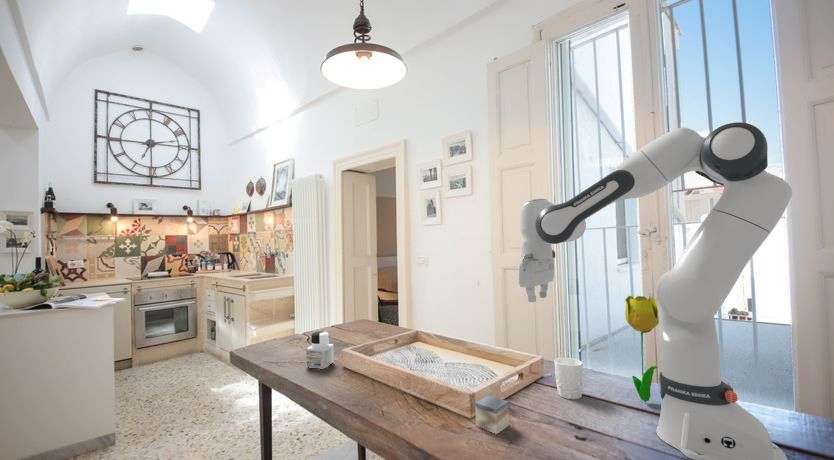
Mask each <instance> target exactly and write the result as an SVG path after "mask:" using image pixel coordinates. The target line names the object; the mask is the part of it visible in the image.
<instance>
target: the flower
mask: <svg viewBox="0 0 834 460" xmlns="http://www.w3.org/2000/svg"><path fill="white" fill-rule="evenodd" d="M624 302H625V309H624V310H625V311H624V313H625V315H624V316H625V320H626V323H627V324H628V325H629V326H630V327H631V328H633V329H634V330H635V331H636V332H640V343H641V344H640V348H641V353H640V354H641V376H642V377H641V379H640V378H638V377H637V376H635V375H632V376H631V378H632V380H633V384H634V387H635V389H636V392H637V393H638V395H639V396H638V397H640V400H642V401H644V402H646V403H647V402H649V401H650V399H651V389H652V384H653V383H652V381H653V376H654V371H655V370H656V369H658V366H656V365H654V366H651V367H649V368H648V369H647V370H645V372H644V351H643V350H644V346H643V344H644V334H646V333H650V332H651V331H652V330H653V329H654V328H655V327H657V326H659V317H658V303H657V300H656V299H655V298H654V297H649V298H647V297H645V296H644V295H643V296H641V295H637V296H636V297H634V296H633V295H628V296H627V297H626V298H625V301H624Z"/></svg>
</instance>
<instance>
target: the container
mask: <svg viewBox="0 0 834 460" xmlns="http://www.w3.org/2000/svg"><path fill="white" fill-rule="evenodd" d="M329 336H330V335H329V332H327V331H324V330H323V331H316V332H313V333H311V345H310V346H308V347H307V348H305V349H306V350H305V351H306V358H305V359H306V368H307V367H309V368H325V367H327V366H328V365H330V364H331V363H332V362H334V363H335V353H334V352H335V349H334V343H330V339H329ZM309 368H308V369H309ZM327 368H328V367H327Z"/></svg>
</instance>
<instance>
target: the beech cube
mask: <svg viewBox="0 0 834 460" xmlns="http://www.w3.org/2000/svg"><path fill="white" fill-rule="evenodd" d="M474 406H475V408H474V409H475V426H476V425H477V426H478V427H477V428H479V427H481V428H483V429H482V430H484V429H485V430H484V431H486V430H487V432H489V431H490V433H491V432H492V433H491V434H494V433H495V434H494V435H496V434H497V433H498V434H499V433H500V431H501V432H502V431H503V430H505V429H506V428H507V427H508V426H510V411H509V409H510V408H509V407H510V406H509V401H507V400H505V399H501V398H498V397H494V396H491V395H486V396H485V397H483V398H481V399H480V400H478V401H476V402H475V403H474ZM481 428H480V429H481ZM498 434H497V435H498Z"/></svg>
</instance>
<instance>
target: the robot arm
mask: <svg viewBox="0 0 834 460" xmlns="http://www.w3.org/2000/svg"><path fill="white" fill-rule="evenodd" d="M768 164H769V163H768V141H767V137H766V136H765V134H764V132H763V131H761V129H759V128H758V127H757V126H755V125H753V124H750V123H748V122H747V123H746V122H741V121H740V122H739V121H737V122H731V123H726V124H723V125H720V126H719V127H717V128H715V129H714V130H712V131H711V132H710V133H709V134H708V135H707V136H706V137H704V136H701V135H700V134H699V133H698V132H697V131H695V130H694V129H691V128H688V127H678V128H674V129H671V130H670V131H668V132H666V133H664V134H662V135H660V136H658V137H657V138H655V139H653V140H651V141H650V142H648V143H647V144H645V145H643V146H642V147H641V148H639V149H638V150H636V151H635V152H633V153H632V154H631V155H630V156H629V157H628V158H626V159H625V160H623V161H622V162H621V163H620V164H618V165H617V167H615V168H613V170H611V171H610V172H609V173H608V174H607V175H605V176H604V177H603V178H601V179H599V181H597V182H595V183H594V184H592V185H591V186H589V187H587V188H586V189H584V190H583V191H581V192H579V193H578V194H577V195H575V196H574V197H572V198H571V199H569V200H567V201H565V202H562V203H559V204H554V203H552V202H551V201H548V200H547V199H546V198H538V199H537V198H536V199H531V200H529V201H526V202H525V203H524V204H523V205H522V206H521V209H520V216H519V217H520V219H519V220H520V222H519V230H520V233H521V240H520V258H521V259H520V260H521V261H520V263H519V265H518V284H519V287H521V288H525V291H526V292H525V293H526V294H527V301H528V302H529V303H535V302H537V296H536V294H535V290H536V287H537V286H540V287H539V288H540V289H539V294H538V295H539V298H543V299H545V298H547V296H548V295H547V294H548V288H549V283H550V282H553V280H554V278H555V259H556V257H557V256H556V251H555V250H554V249H553V247H552V245H556V244H561V243H569V242H570V243H571V242H575V241H577V240H579V239H580V238H581V237H582V236H583V235H584V233H585V231H586V228H587V226H586V225H587V223H586V220H587V219H588V218H590V217H592V216H593V215H595V214H596V213H598V212H600V211H601V210H603V209H604V208H606V207H608V206H610V205H612V204H615V203H616V202H620V201H625V200H629V199H630V200H631V199H637V198H643V197H645V196H647V195H650V194H652V193H654V192H656V191H658V190H660V189H662V188H664V187H665V186H667V185H668V184H670V183H672V182H673V181H675V180H676V179H677V178H680V177H681V176H683V175H685V174H687V173H690V172H695V173H696V174H697V175H699V176H700V177H703V178H705V179H707V180H709V181H710V182H712V183H714V184H716V185H719V186H723V191H722V193H721V196H720V197H719V199H718V201H716V203H715V204H714V206H713V208H712V209H711V210H710V211H709V213H708V214H707V215H706V217H705V219H704V220H703V222H702V223H701V224H700V226H699V227H698V229H696V231H695V233H694V234H693V235H692V237H691V238H690V240H689V241H688V243H687V244H686V246H685V248H684V250H683V252H682V253H681V254H680V255H679V258H678V259H677V260H676V262H675V264H674V265H673V267H672V269H671V270H669V271H666V272H665V273H663V274H662V275H661V277H660V278H659V279H658V281H657V285H656V299H657V300H656V302H657V309H658V317H659V324H658V328H659V329H658V331H659V346H660V347H659V348H660V349H659V350H660V352H659V353H660V363H661V364H660V367H661V371H660V372H659V377H658V384H659V385H658V386H659V387H658V388H659V394H660V398H661V406H660V414H659V419H658V423H657V427H656V429H655V430H656V431H655V432H656V434H657V436H658V437H659V438H660V439H661V440H662V441H663V442H665V443H666V444H668V445H669V446H671V447H672V448H675V449H676V450H678V451H680V453H682V454H683V455H684V456H686V457H687V458H689V459H691V460H788V458H787V456H786V454H785V452H784V450H783V449H781V448H780V447H779V446H778V445H776V444H775V443H773V441H772V439H771V435H770V433H769V431H768V430H767V428H766V426H765V425H764V423H763V422H762V421H761V420H760V419H759V418H757V417H756V416H754V415H753V414H752V413H750V412H749V411H748V410H746V409H745V408H744V407H742V406H741V405H739V404H738V403H737V402H738V398H739V397H738V395H737V393H736V392H735V391H734V388H733V387H731V384H730V383H729V382H728V383H725V382H724V381H722V378H721V376H722V375H721V361H720V360H721V359H720V345H719V340H718V334H717V328H716V327H717V326H716V319H715V318H716V317H715V315H716V314H717V313H718V312H719V310H720V309H721V306H722V305H723V304H724V302H725V300H726V299H727V298H728V296H729V294H730V293H731V291H732V290H733V288H734V286H735V284H736V283H737V281H738V279H739V278H740V276H741V274H742V272H743V270H744V269H745V267H746V266H747V264H748V263H750V262H749V261H750V260H751V259H752V258H753V257H754V255H755V253H756V252H757V251H758V249H760V247H761V246H762V245H763V243H764V242H765V241H766V240H767V238H768V237H769V235H770V234H772V231H773V230H774V229H775V227H776V226H777V225H778V223H779V221H780V220H781V218H782V216H783V215H784V213H785V211H786V209H787V208H788V205H789V202H790V201H791V198H792V196H793V190H792V187H791V185H790V184H789V183H788V182H787V181H786V180H784V179H783V178H781V177H779V176H777V175H776V174H775V175H774V174H772V173H770V172H768V171H766V170H767V168H768Z"/></svg>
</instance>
